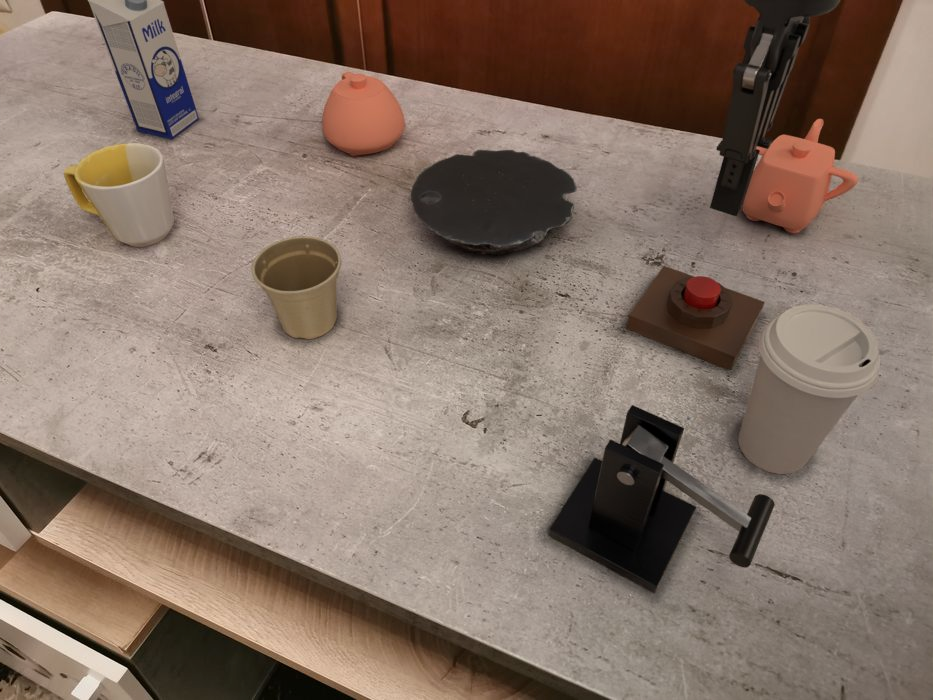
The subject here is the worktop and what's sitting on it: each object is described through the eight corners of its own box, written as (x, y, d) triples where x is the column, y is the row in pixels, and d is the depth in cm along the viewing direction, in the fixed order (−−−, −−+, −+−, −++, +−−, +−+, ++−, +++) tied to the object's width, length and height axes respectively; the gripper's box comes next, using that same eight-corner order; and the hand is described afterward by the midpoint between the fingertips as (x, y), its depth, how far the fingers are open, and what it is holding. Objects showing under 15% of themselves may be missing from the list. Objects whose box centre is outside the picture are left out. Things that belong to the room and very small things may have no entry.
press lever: (764, 512, 58) (782, 501, 56) (739, 572, 54) (757, 562, 52) (635, 422, 60) (648, 408, 58) (603, 474, 56) (616, 461, 54)
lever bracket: (694, 513, 65) (729, 425, 56) (654, 594, 60) (686, 512, 51) (593, 464, 69) (610, 374, 60) (547, 535, 64) (559, 449, 55)
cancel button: (721, 295, 80) (725, 283, 79) (710, 314, 78) (714, 302, 77) (690, 283, 81) (693, 271, 80) (678, 302, 79) (681, 290, 78)
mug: (203, 223, 97) (180, 153, 89) (148, 267, 90) (117, 196, 83) (128, 197, 101) (99, 128, 94) (70, 237, 95) (34, 167, 87)
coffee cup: (750, 496, 66) (802, 389, 56) (705, 416, 73) (745, 306, 62) (845, 478, 68) (915, 369, 57) (793, 400, 74) (847, 290, 63)
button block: (759, 315, 83) (769, 289, 80) (730, 371, 77) (740, 344, 74) (660, 279, 87) (666, 253, 85) (625, 328, 82) (631, 302, 79)
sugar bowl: (337, 170, 105) (327, 104, 98) (313, 125, 114) (301, 61, 107) (417, 151, 108) (412, 86, 101) (387, 109, 117) (381, 46, 110)
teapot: (847, 242, 92) (878, 172, 84) (755, 250, 91) (779, 180, 84) (799, 180, 102) (823, 113, 94) (716, 186, 101) (735, 119, 94)
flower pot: (367, 310, 84) (358, 251, 78) (318, 362, 79) (304, 303, 73) (303, 284, 88) (289, 226, 81) (251, 333, 82) (232, 274, 76)
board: (378, 246, 93) (373, 213, 89) (457, 162, 106) (456, 130, 102) (536, 298, 85) (539, 264, 82) (600, 201, 99) (605, 168, 95)
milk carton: (166, 110, 118) (122, -20, 104) (200, 118, 116) (160, -14, 102) (136, 131, 113) (86, -2, 99) (171, 140, 112) (124, 5, 97)
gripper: (778, -86, 59) (711, 166, 76) (724, -36, 52) (663, 230, 69) (875, -71, 56) (783, 187, 74) (832, -16, 49) (741, 257, 66)
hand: (725, 208), depth 71 cm, fingers closed
